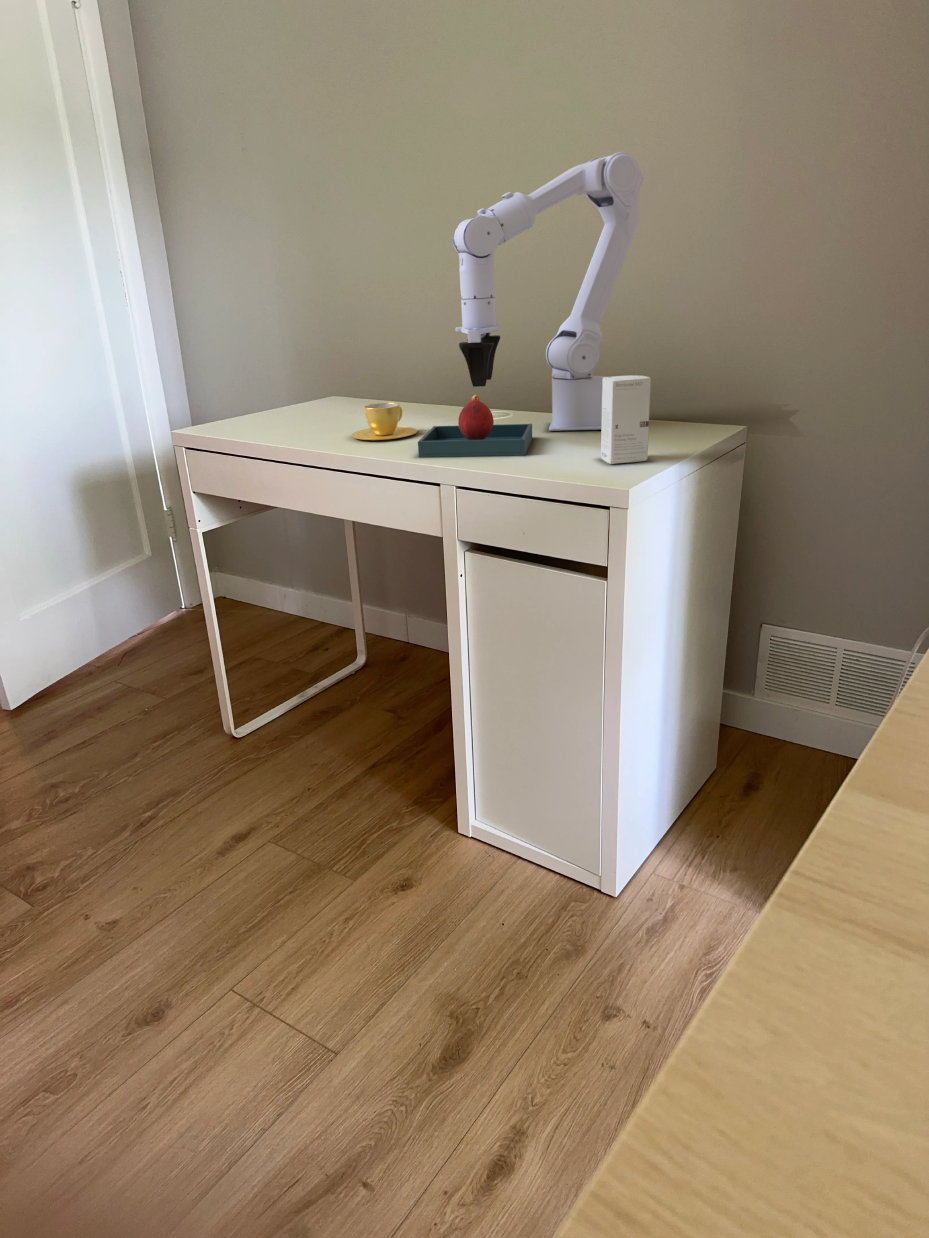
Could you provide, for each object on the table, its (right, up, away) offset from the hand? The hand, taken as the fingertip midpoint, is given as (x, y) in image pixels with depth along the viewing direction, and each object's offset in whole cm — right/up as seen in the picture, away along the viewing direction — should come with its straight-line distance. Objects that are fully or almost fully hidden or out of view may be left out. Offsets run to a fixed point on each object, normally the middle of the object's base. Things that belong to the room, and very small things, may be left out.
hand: (482, 383), depth 145 cm
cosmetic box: (+21, -17, -18) cm, 32 cm away
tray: (-1, -12, -4) cm, 12 cm away
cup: (-18, -7, +11) cm, 22 cm away
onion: (-1, -12, -4) cm, 12 cm away
